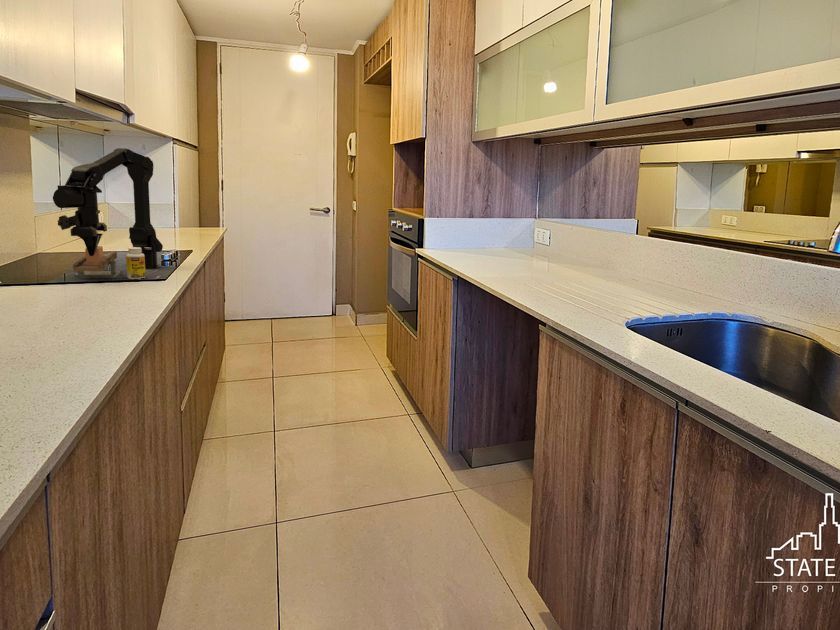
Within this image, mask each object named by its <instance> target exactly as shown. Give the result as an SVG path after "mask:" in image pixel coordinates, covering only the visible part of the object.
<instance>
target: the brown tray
mask: <svg viewBox="0 0 840 630" xmlns="http://www.w3.org/2000/svg"><path fill="white" fill-rule="evenodd" d="M103 257H104V260H102V261H101V262H100V263H87V262H86V254H85V255H84V256H82V257H81V258H80V259H78V260H77V261H75V262H74V263H73V264H72V267H73V268H72V270H73V272H78V271H105V269H106V268H107V267H109V266H110V261H116V259H117V258H118V252H117V251H116V250H113V251H112V252H110V253H103Z"/></svg>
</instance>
